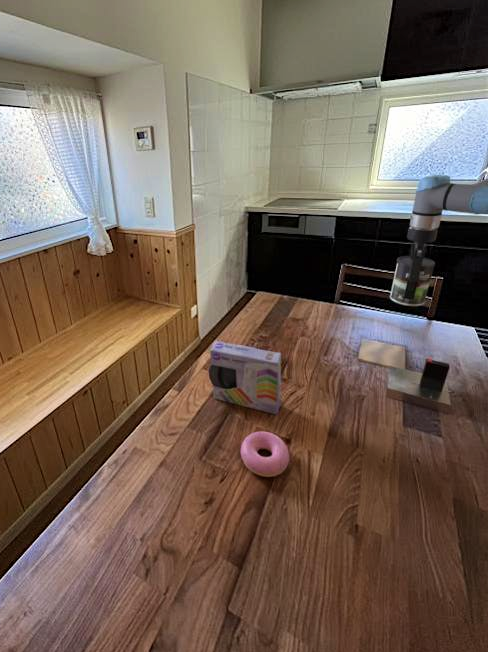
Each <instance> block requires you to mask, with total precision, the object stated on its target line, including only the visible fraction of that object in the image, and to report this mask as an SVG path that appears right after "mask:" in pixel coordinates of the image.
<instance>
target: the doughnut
mask: <svg viewBox="0 0 488 652" xmlns="http://www.w3.org/2000/svg"><path fill="white" fill-rule="evenodd" d="M260 450H267V451H268V452H270V453H271V455H269V456H262V455H261V454H260V453H259V452H258V451H260ZM240 457H241V459H242V462H243V464H244V466H245V467H246V468H247V469H248V470H249V471H250V472H252V473H253V474H255V475H257V476H259V477H264V478H272V477H273V478H274V477H276V476H279V475H281V474H282V473H283V472H284V471H285V470H286V469H287V467H288V465H289V464H290V452H289V448H288V446H287V444H286V442H284V440H283V439H281V438H280V436H278V435H276V434H275V433H272V432H270V431H264V430H263V431H261V430H260V431H255V432H252V433H249V434H248V435H247V436H245V437H244V439H243V441H242V443H241V446H240Z"/></svg>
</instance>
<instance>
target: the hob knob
mask: <svg viewBox="0 0 488 652" xmlns="http://www.w3.org/2000/svg"><path fill="white" fill-rule="evenodd" d="M450 368H451V365H450V363H448V362H443V361H438V360H434V359H432V358H425V362H424V366H423V369H422V372H421V373H422V375H421V379H420V386H423V387H427V388H431V389H435V390H439V391H442V390H443V387H444V384H445V380H446V379H447V377H448V374H449V371H450Z"/></svg>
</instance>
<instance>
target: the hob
mask: <svg viewBox="0 0 488 652" xmlns="http://www.w3.org/2000/svg"><path fill="white" fill-rule="evenodd" d="M421 375H422V372H419V371H413V370H409V369H406V368H405V369H402V368H398V367H393V366H389V368H387V372H386V383H385V384H386V387H385V397H387V398H389V399H394V400H397V401H401V402H403V403H408V404H412V405H416V406H419V407H423V408H426V409H429V410H433V411H436V412H439V413H443V414H446V415H447V414H449V411H450V408H451V399H450V393H452V391H451V390H449V386H448V385H449V384H448V379H447V378H446V380H445V384H444V387H443V390H442V391H439V390H435V389H431V388H427V387H423V386H420V379H421Z"/></svg>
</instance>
